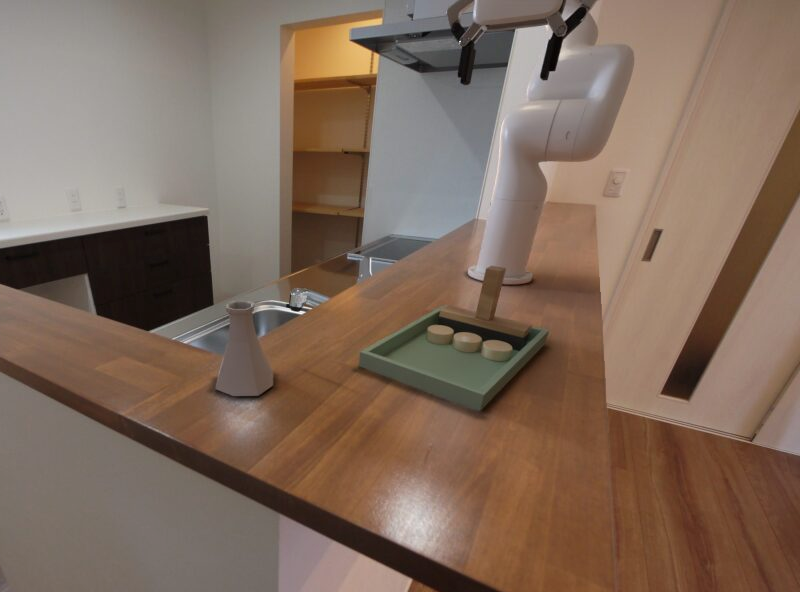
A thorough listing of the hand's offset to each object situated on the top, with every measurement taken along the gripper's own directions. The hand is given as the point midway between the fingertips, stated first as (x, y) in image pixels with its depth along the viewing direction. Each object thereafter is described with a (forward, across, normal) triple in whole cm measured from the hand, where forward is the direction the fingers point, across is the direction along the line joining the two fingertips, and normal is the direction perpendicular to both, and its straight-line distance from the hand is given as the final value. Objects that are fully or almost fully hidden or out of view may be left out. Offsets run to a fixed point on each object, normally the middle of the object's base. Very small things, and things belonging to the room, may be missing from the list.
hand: (502, 81), depth 56 cm
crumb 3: (+32, -8, +15) cm, 36 cm away
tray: (+33, -4, +17) cm, 37 cm away
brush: (+32, -6, +9) cm, 34 cm away
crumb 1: (+32, -1, +13) cm, 35 cm away
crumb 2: (+32, -5, +14) cm, 35 cm away
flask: (+33, +16, +37) cm, 53 cm away
